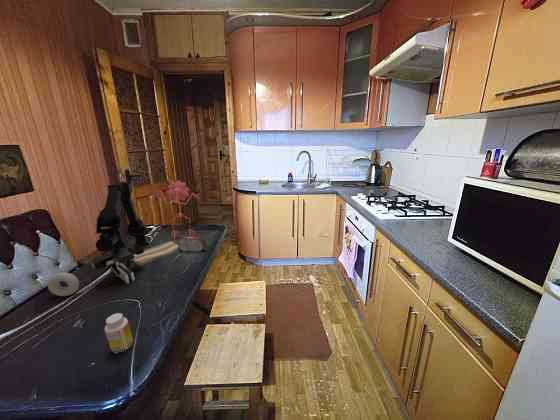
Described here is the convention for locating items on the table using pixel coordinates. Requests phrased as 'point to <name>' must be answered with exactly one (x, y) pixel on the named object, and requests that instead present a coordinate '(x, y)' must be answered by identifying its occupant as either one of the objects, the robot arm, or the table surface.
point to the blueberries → (79, 323)
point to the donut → (66, 277)
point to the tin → (191, 243)
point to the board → (155, 253)
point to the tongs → (124, 272)
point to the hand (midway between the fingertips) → (123, 273)
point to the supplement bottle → (118, 333)
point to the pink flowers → (178, 193)
